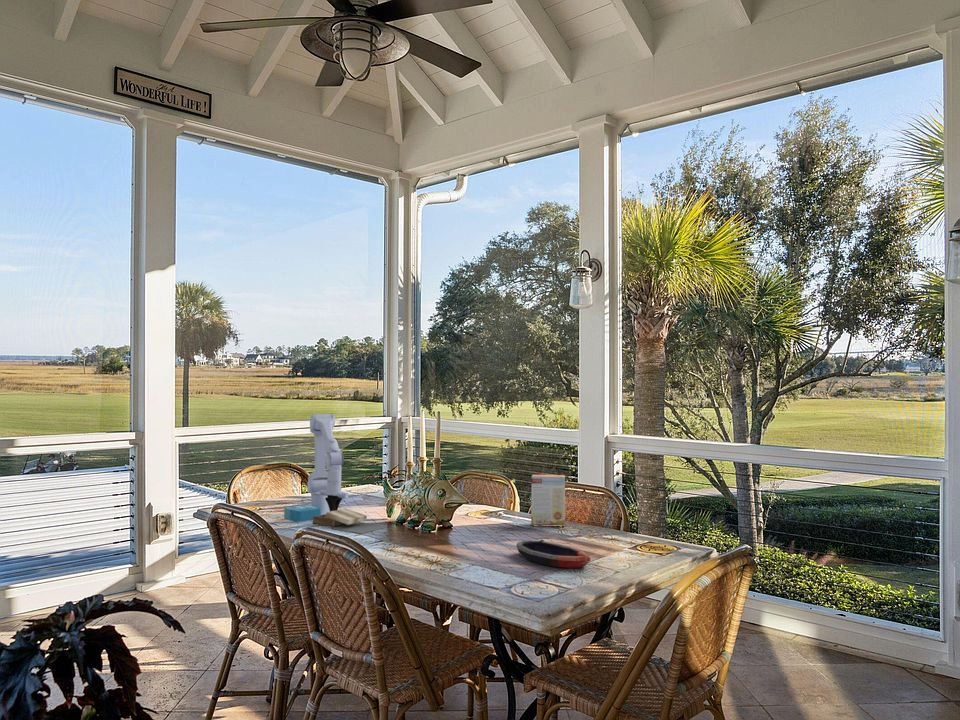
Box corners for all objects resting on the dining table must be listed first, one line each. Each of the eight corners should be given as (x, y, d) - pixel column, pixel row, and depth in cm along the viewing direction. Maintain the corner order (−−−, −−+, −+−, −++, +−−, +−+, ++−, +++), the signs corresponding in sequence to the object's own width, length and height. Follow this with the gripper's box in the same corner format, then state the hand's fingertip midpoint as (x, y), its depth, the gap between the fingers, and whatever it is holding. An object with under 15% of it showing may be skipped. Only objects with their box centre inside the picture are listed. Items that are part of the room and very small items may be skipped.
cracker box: (564, 524, 309) (565, 474, 310) (564, 527, 303) (565, 476, 304) (531, 523, 311) (531, 473, 311) (530, 526, 305) (531, 475, 305)
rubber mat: (357, 522, 307) (357, 521, 307) (387, 527, 298) (387, 526, 298) (330, 528, 293) (330, 528, 293) (361, 534, 285) (361, 533, 285)
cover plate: (344, 513, 308) (345, 508, 308) (366, 520, 301) (366, 515, 301) (325, 517, 299) (326, 512, 298) (347, 524, 292) (348, 519, 292)
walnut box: (331, 519, 312) (331, 512, 312) (352, 523, 305) (353, 515, 305) (312, 524, 302) (312, 516, 302) (334, 527, 296) (334, 520, 296)
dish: (536, 549, 265) (536, 535, 265) (602, 568, 241) (602, 552, 241) (504, 556, 255) (504, 541, 255) (569, 575, 231) (569, 559, 231)
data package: (282, 507, 314) (307, 504, 322) (282, 518, 314) (307, 514, 322) (297, 511, 305) (322, 508, 314) (297, 522, 305) (322, 518, 314)
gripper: (314, 480, 304) (313, 513, 304) (340, 483, 297) (339, 517, 296) (326, 478, 310) (325, 511, 310) (352, 481, 303) (351, 515, 302)
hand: (333, 514), depth 304 cm, fingers closed
